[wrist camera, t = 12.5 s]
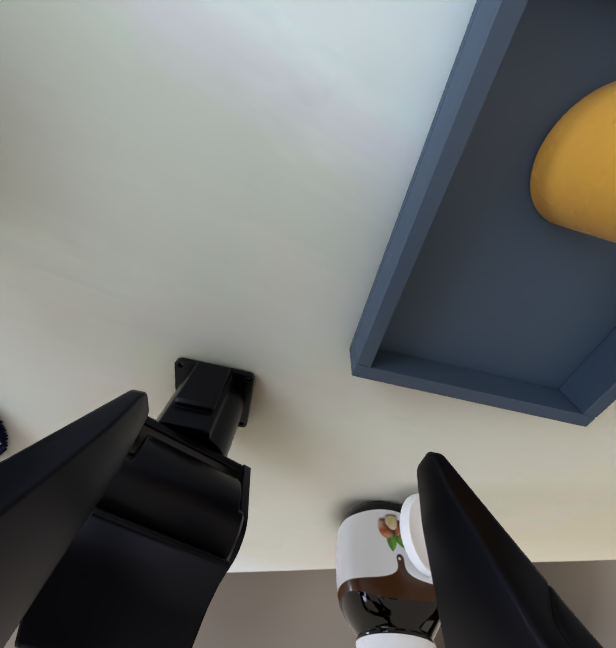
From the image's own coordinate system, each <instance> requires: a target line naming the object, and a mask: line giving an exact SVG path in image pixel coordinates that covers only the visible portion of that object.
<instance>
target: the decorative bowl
mask: <svg viewBox="0 0 616 648" xmlns="http://www.w3.org/2000/svg"><path fill="white" fill-rule="evenodd" d="M2 423H3V422H2V421H0V443H2V444H1V445H0V455H1V454H2V453H3V452H4V451H6V450H7V449H6V447H7V446H8V445H6V443H8V442H6V440H7V439H8V438H6V437H7V436H8V435H6V433H5V431H6V430H5V429H4V427H3V425H2Z"/></svg>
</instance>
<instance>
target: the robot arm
mask: <svg viewBox="0 0 616 648" xmlns="http://www.w3.org/2000/svg"><path fill="white" fill-rule="evenodd" d="M181 363H182V364H183V365H182V364H181ZM246 377H248V378H250V379H248V378H246ZM254 379H255V376H254V374H252V373H251V372H247V371H242V370H238V369H233V368H228V367H224V366H219V365H214V364H210V363H205V362H200V361H196V360H191V359H187V358H178V359H177V361H176V362H175V388H176V391H175V393H174V394H173V396H172V397H171V399H170V400H169V402H168V403H167V405H166V406H165V408H164V409H163V411H162V412H161V414H160V415H159V417H158V418H157V420H154V419H152V418H150V417H148V413H149V407H148V398H147V394H146V392H143V391H138V390H131V391H128V392H127V393H125V394H123V395H121V396H119V397H118V398H116V399H114V400H112V401H110V402H108V403H107V404H105V405H103V406H101V407H99V408H98V409H96V410H94V411H92V412H90V413H89V414H87V415H85V416H83V417H81V418H80V419H78V420H76V421H74V422H72V423H71V424H69V425H67V426H65V427H63V428H62V429H60V430H58V431H56V432H54V433H53V434H51V435H49V436H47V437H45V438H43V439H42V440H40V441H38V442H36V443H34V444H33V445H31V446H29V447H27V448H25V449H24V450H22V451H20V452H18V453H16V454H15V455H13V456H11V457H9V458H7V459H6V460H4V461H2V462H0V648H4V646H5V644H6V643H7V641H8V640H9V638H10V637H11V635H12V634H13V632H14V631H15V629H16V628H17V626H18V625H19V623H20V625H19V629H18V633H17V637H16V641H15V648H192V646H193V644H194V641H195V639H196V636H197V634H198V631H199V628H200V626H201V623H202V621H203V618H204V616H205V613H206V611H207V608H208V606H209V604H210V602H211V600H212V598H213V596H214V593H215V592H216V589H217V587H218V585H219V583H220V582H221V581H222V579H223V577H224V576H225V574H226V572H227V571H228V570H229V568H230V566H231V565H232V563H233V562H234V560H235V558H236V556H237V554H238V552H239V549H240V547H241V544H242V541H243V538H244V535H245V531H246V527H247V520H248V505H249V488H250V471H251V468H250V467H248V466H246V465H241V464H239V463H237V462H235V461H233V460H231V459H229V458H227V455H228V452H229V449H230V446H231V444H232V441H233V438H234V435H235V432H236V429H237V426H238V427H245V426H246V425H247V422H248V416H249V410H250V404H251V398H252V392H253V385H254ZM417 479H418V490H419V501H420V512H421V521H422V528H423V534H424V539H425V544H426V550H427V555H428V560H429V566H430V571H431V576H432V581H433V587H434V592H435V597H436V602H437V608H438V613H439V618H440V623H441V628H442V633H443V639H444V644H445V648H603V647H602V646H601V645H600V643H599V642H598V641H597V640H596V639H595V638H594V637H593V635H592V634H590V632H589V631H588V630H587V629H586V627H585V626H584V625H583V624H582V623H581V621H580V620H579V619H578V618H577V617H576V616H575V614H574V613H573V612H572V611H571V610H570V608H569V607H568V606H567V605H566V604H565V603H564V601H563V600H562V599H561V598H560V596H559V595H558V594H557V593H556V592H555V591H554V589H553V588H552V587H551V586H550V585H548V582H547V581H546V580H545V578H544V577H543V576H542V575H541V574H540V572H539V571H538V570H537V569H536V567H535V566H534V565H533V564H532V563H531V561H530V560H529V559H528V558H527V556H526V555H525V554H524V553H523V552H522V550H521V549H520V548H519V547H518V546H517V544H516V543H515V542H514V541H513V539H512V538H511V537H510V536H509V535H508V533H507V532H506V531H505V530H504V529H503V527H502V526H501V525H500V524H499V522H498V521H497V520H496V519H495V518H494V516H493V515H492V514H491V513H490V512H489V510H488V509H487V508H486V507H485V505H484V504H483V503H482V502H481V501H480V499H479V498H478V497H477V496H476V495H475V493H474V492H473V491H472V490H471V488H470V487H469V486H468V485H467V484H466V482H465V481H464V480H463V479H462V478H461V476H460V475H459V474H458V473H457V471H456V470H455V469H454V468H453V467H452V465H451V464H450V463H449V462H448V460H447V459H446V458H445V457H444V456H443V455H442V454H439V453H434V452H428V453H427V454H426V456H425V457H424V458H423V460H422V461H421V463H420V464H419V466H418V468H417Z"/></svg>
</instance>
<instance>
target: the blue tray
mask: <svg viewBox="0 0 616 648" xmlns="http://www.w3.org/2000/svg"><path fill="white" fill-rule="evenodd" d="M614 81H616V0H477V2H476V5H475V8H474V10H473V13H472V16H471V19H470V21H469V24H468V27H467V30H466V32H465V35H464V38H463V40H462V43H461V46H460V49H459V51H458V54H457V57H456V60H455V62H454V65H453V68H452V71H451V73H450V76H449V79H448V81H447V84H446V87H445V90H444V92H443V95H442V98H441V101H440V103H439V106H438V109H437V111H436V114H435V117H434V120H433V122H432V125H431V128H430V131H429V133H428V136H427V139H426V142H425V144H424V147H423V150H422V152H421V155H420V158H419V161H418V163H417V166H416V169H415V172H414V174H413V177H412V180H411V182H410V185H409V188H408V191H407V193H406V196H405V199H404V202H403V204H402V207H401V210H400V213H399V215H398V218H397V221H396V223H395V226H394V229H393V232H392V234H391V237H390V240H389V243H388V245H387V248H386V251H385V254H384V256H383V259H382V262H381V264H380V267H379V270H378V273H377V275H376V278H375V281H374V284H373V286H372V289H371V292H370V294H369V297H368V300H367V303H366V305H365V308H364V311H363V314H362V316H361V319H360V322H359V325H358V327H357V330H356V333H355V335H354V338H353V341H352V344H351V346H350V358H351V369H352V375H353V376H357V377H361V378H366V379H370V380H375V381H380V382H384V383H389V384H393V385H398V386H402V387H407V388H411V389H416V390H421V391H425V392H430V393H434V394H439V395H443V396H448V397H452V398H457V399H462V400H466V401H471V402H475V403H480V404H484V405H489V406H493V407H498V408H503V409H507V410H512V411H516V412H521V413H525V414H530V415H535V416H539V417H544V418H548V419H553V420H557V421H562V422H566V423H571V424H576V425H580V426H587V425H588V424H589V423H590V422H592V421H593V420H594V419H595V417H597V416H598V415H599V414H600V413H602V412H603V411H604V410H605V409H606V408H607V407H608V406H609V405H610V404H611V403H613V402H614V401H615V400H616V243H614V242H611V241H608V240H604V239H601V238H598V237H594V236H591V235H588V234H584V233H581V232H578V231H574V230H571V229H568V228H564V227H561V226H558V225H555V224H552V223H551V222H549V221H547V220H546V219H544V218H543V217H542V216H541V215H540V214H539V212H538V211H537V210H536V208H535V206H534V204H533V201H532V198H531V192H530V178H531V172H532V168H533V164H534V161H535V158H536V156H537V153H538V151H539V149H540V147H541V145H542V143H543V142H544V140H545V138H546V137H547V135H548V134H549V132H550V131H551V129H552V128H553V127H554V125H555V124H556V123H557V122H558V121H559V120H560V119H561V117H562V116H563V115H564V114H565V113H566V112H567V111H568V110H569V109H571V108H572V107H573V106H574V105H575V104H576V103H578V102H579V101H580V100H581V99H583V98H584V97H586V96H587V95H589V94H590V93H592V92H593V91H595V90H597V89H599V88H600V87H602V86H604V85H606V84H609V83H611V82H614Z"/></svg>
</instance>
